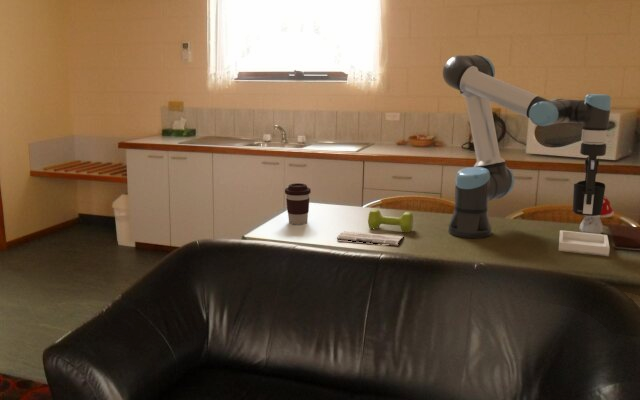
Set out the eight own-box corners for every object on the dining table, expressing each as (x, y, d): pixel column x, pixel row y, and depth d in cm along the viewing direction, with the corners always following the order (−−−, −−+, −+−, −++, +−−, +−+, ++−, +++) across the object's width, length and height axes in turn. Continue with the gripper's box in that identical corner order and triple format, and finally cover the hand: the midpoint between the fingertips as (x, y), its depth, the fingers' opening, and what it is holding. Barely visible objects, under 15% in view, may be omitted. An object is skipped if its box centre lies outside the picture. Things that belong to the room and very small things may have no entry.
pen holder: (566, 209, 199) (568, 181, 197) (592, 209, 200) (595, 180, 198) (580, 217, 190) (583, 186, 188) (608, 216, 191) (611, 186, 189)
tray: (558, 250, 194) (559, 242, 193) (559, 238, 207) (560, 230, 207) (608, 256, 188) (609, 247, 188) (606, 243, 202) (607, 234, 201)
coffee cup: (315, 221, 230) (315, 184, 227) (301, 227, 222) (301, 188, 219) (295, 217, 236) (294, 181, 232) (280, 223, 227) (279, 185, 224)
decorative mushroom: (616, 239, 206) (621, 198, 202) (574, 237, 209) (578, 196, 205) (606, 228, 219) (610, 189, 216) (566, 226, 222) (570, 188, 218)
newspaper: (335, 243, 205) (335, 236, 204) (345, 237, 216) (345, 230, 216) (399, 249, 197) (399, 242, 197) (406, 242, 209) (406, 235, 208)
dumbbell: (366, 230, 218) (366, 211, 217) (372, 225, 226) (372, 206, 224) (409, 235, 213) (410, 215, 211) (414, 229, 220) (415, 210, 218)
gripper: (608, 147, 179) (600, 219, 184) (604, 139, 198) (598, 204, 203) (581, 146, 181) (574, 217, 187) (580, 138, 201) (574, 202, 206)
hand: (587, 210), depth 195 cm, fingers closed on pen holder, 9 cm apart
